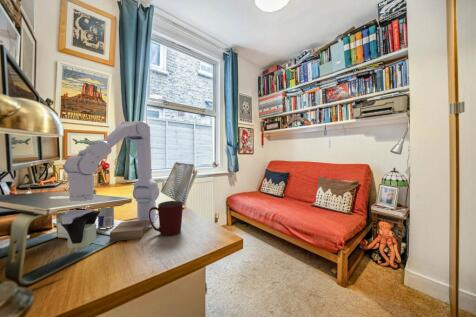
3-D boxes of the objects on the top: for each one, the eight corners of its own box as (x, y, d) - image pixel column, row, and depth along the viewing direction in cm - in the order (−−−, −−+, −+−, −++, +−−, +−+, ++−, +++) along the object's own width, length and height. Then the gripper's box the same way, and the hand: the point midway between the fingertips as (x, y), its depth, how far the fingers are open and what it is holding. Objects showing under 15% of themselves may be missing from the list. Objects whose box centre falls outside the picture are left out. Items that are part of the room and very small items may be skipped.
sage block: (78, 240, 60) (78, 224, 59) (96, 238, 61) (96, 223, 61) (67, 248, 55) (67, 231, 55) (87, 246, 56) (87, 229, 56)
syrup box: (85, 232, 71) (84, 194, 71) (68, 239, 66) (68, 198, 65) (72, 231, 72) (72, 194, 72) (55, 238, 67) (54, 197, 66)
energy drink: (100, 225, 78) (99, 197, 78) (115, 223, 80) (115, 196, 80) (96, 230, 73) (95, 200, 73) (112, 228, 75) (111, 198, 75)
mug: (149, 241, 65) (149, 209, 65) (148, 231, 73) (148, 203, 72) (184, 234, 70) (184, 205, 70) (180, 226, 78) (180, 199, 78)
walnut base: (121, 229, 74) (121, 222, 74) (148, 227, 77) (148, 220, 76) (109, 241, 65) (109, 232, 65) (141, 238, 67) (141, 230, 67)
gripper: (81, 190, 63) (81, 230, 64) (47, 201, 49) (48, 252, 50) (104, 189, 65) (105, 228, 65) (78, 200, 51) (79, 249, 51)
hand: (82, 238), depth 58 cm, fingers closed on sage block, 5 cm apart
